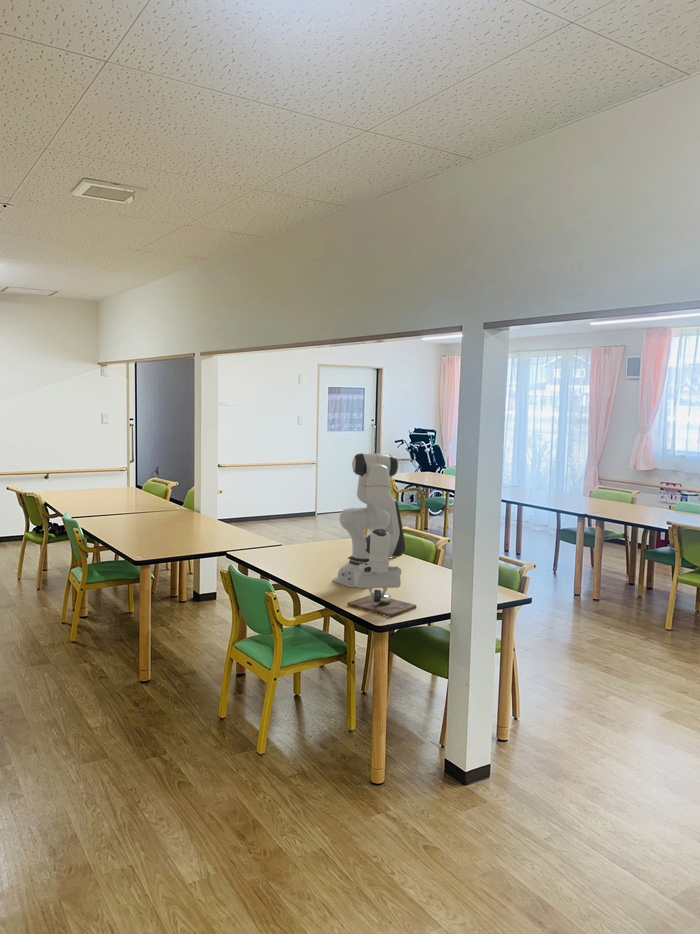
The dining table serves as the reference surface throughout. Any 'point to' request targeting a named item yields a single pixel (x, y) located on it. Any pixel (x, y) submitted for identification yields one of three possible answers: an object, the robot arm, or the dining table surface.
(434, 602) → the dining table surface
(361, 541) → the robot arm
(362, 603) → the board
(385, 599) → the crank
